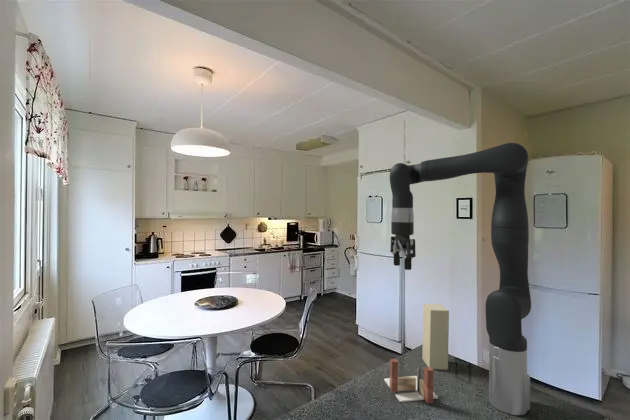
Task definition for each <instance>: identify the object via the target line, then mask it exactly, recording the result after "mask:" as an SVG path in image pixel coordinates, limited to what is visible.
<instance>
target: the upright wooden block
mask: <svg viewBox="0 0 630 420" xmlns="http://www.w3.org/2000/svg"><path fill="white" fill-rule="evenodd" d="M422 306H423V307H422V310H423V311H422V350H421V351H422V352H421V353H422V356H421V357H422V361H423V362H424V363H425V365H426V367H431V368H432V369H433V370H444V371H446V370H447V371H448V370H449V328H450V327H449V326H450V325H449V324H450V311H449V309H447V308H446V307H445V306H444V305H442V304H441V303H423V305H422Z"/></svg>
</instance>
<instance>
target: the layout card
mask: <svg viewBox="0 0 630 420" xmlns="http://www.w3.org/2000/svg"><path fill="white" fill-rule="evenodd" d="M407 377H415V378H416V390H409V391H398V392H392V393H393V394H394V395H395V397H396V398H397V399H398V401H399V402H400V403H404V402H405V403H406V402H416V401H417V402H418V401H425V400H424V397H423V396H422V395H421V394H420V393H419V391H418V390H417V375H411V376H410V375H409V376H407ZM383 380H384V382H385V383H386V384H387V386H388V387H389V388H390V377H387V378H383ZM434 399H435V400H436V399H437V400H438V399H439V396H438V395H437V394H436V393H435V392H434V391H433V400H434Z"/></svg>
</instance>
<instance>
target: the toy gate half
mask: <svg viewBox="0 0 630 420" xmlns="http://www.w3.org/2000/svg"><path fill="white" fill-rule="evenodd" d="M398 363H399V362H398V360H397V359H396V358H390V359H389V378H390V387H389V389H390V392H391V393H393V392H398V391H409V390H416V378H415V377H408V376H399V375H398V373H399V368H398V367H399V365H398Z"/></svg>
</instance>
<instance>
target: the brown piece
mask: <svg viewBox="0 0 630 420" xmlns="http://www.w3.org/2000/svg"><path fill="white" fill-rule="evenodd" d="M416 369H417V370H416V371H417V373H416V374H417V375H416V376H417V390H418V391H419V393H420V394H421V395H422V396H423V397H424V400H423V401H425V403H426V404H427V405H428V404H433V403H434V399H433V392H434V369H432V368H431V367H428V366H426V367H424V369H423V371H424V373H423V378H424V379H423V378H422V377H421V376H422V369H421V367H420V366H419V367H417V368H416Z"/></svg>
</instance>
